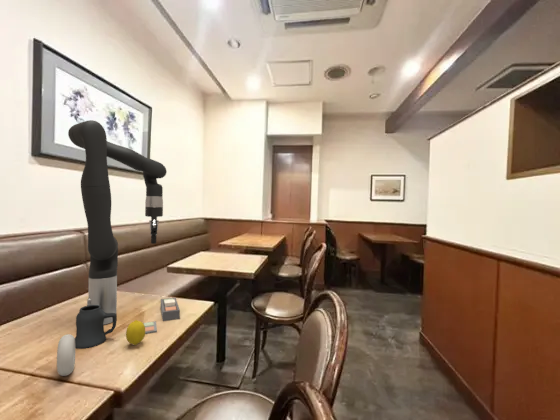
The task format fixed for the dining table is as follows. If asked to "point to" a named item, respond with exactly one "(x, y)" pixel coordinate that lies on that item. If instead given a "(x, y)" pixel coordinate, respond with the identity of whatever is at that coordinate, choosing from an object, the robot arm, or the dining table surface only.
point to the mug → (92, 326)
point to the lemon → (135, 332)
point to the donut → (66, 355)
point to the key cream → (169, 303)
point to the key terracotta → (170, 308)
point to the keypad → (170, 314)
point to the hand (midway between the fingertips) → (153, 243)
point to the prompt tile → (150, 327)
